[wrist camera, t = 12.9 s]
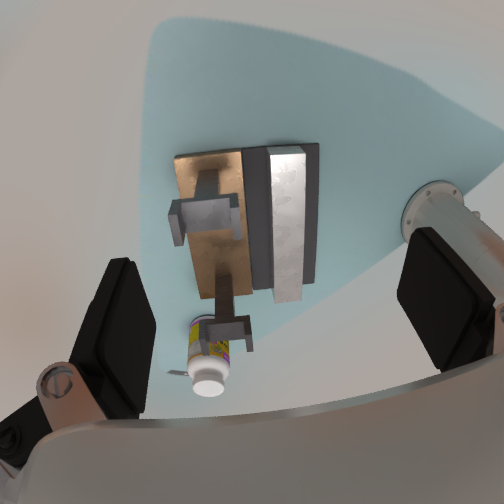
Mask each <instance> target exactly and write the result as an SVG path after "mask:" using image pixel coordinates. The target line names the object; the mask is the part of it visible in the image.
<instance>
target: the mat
mask: <svg viewBox="0 0 504 504" xmlns="http://www.w3.org/2000/svg"><path fill="white" fill-rule="evenodd" d="M282 146H300V148H301V149H302V150H303V151H304V152H305V153H306V181H305V229H304V257H303V280H302V285H303V284H311V283H314V278H315V262H316V244H317V223H318V195H319V144H318V143H315V144H293V145H276V146H262V147H250V148H242V159H243V171H244V183H245V196H246V208H247V220H248V232H249V244H250V256H251V268H252V280H253V290H260V289H269V288H272V286H271V252H270V222H269V195H268V171H267V148H266V147H282Z"/></svg>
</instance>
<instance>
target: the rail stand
mask: <svg viewBox="0 0 504 504" xmlns="http://www.w3.org/2000/svg"><path fill="white" fill-rule="evenodd" d="M174 165H175V171H176V177H177V183H178V188H179V194H180V199H178V200H172V204H171V207H170V210H169V213H168V219H169V223H170V228H171V232H172V237H173V241H174V246H175V247H176V246H183V244H184V238H185V233H187V237H188V242H189V247H190V252H191V257H192V261H193V266H194V271H195V275H196V280H197V285H198V289H199V294H200V298H201V299H209V298H215V319H204V320H199V343H200V346H201V350H202V353H203V356H209V355H210V342H217V341H228V340H238V339H245V340H246V348H247V352H253V341H252V332H251V323H250V315H246V316H236V317H235V306H234V296H240V295H249V294H253V291H252V280H251V268H250V256H249V245H248V233H247V221H246V209H245V198H244V186H243V174H242V162H241V151H240V148H239V149H229V150H219V151H210V152H202V153H194V154H186V155H179V156H175V158H174Z"/></svg>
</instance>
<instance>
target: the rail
mask: <svg viewBox="0 0 504 504" xmlns="http://www.w3.org/2000/svg"><path fill="white" fill-rule="evenodd" d="M266 148H267V171H268V195H269V222H270V252H271V286H272V293H273V297H274V302H275V303H283V302H291V301H300V300H301V299H302V280H303V257H304V229H305V181H306V153H305V152H304V151H303V150H302V149H301V148H300V146H282V147H266Z"/></svg>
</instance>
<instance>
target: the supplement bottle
mask: <svg viewBox="0 0 504 504" xmlns="http://www.w3.org/2000/svg"><path fill="white" fill-rule="evenodd" d="M204 319H215V316H202V317H199V318H197V319H196V320H194V321H193V322H192V324H191V326H190V332H189V346H188V362H187V371H188V374H189V376H190V377H191V378H192V379H193V390H194V392H195V393H197V394H198V395H201V396H206V397H213V396H217V395H220V394H221V393H222V392H223V391H224V380H225V379H226V378H227V377H228V375H229V373H230V361H229V340H228V341H217V342H210V355H209V356H203V353H202V350H201V346H200V343H199V320H204Z"/></svg>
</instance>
